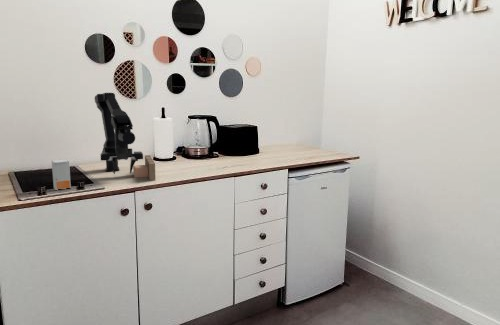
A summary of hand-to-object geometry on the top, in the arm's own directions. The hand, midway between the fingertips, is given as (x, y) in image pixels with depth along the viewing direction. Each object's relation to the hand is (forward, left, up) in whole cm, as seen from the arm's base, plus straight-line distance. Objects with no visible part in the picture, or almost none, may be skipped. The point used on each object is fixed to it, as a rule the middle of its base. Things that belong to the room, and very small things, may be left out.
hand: (122, 173), depth 173 cm
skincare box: (+14, -24, -2) cm, 28 cm away
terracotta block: (0, +8, -2) cm, 8 cm away
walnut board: (+1, +13, -2) cm, 13 cm away
